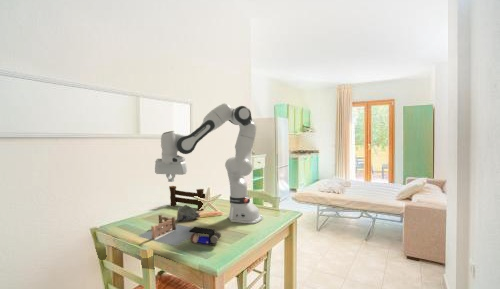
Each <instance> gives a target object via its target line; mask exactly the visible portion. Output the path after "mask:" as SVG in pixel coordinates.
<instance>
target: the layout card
mask: <svg viewBox="0 0 500 289" xmlns="http://www.w3.org/2000/svg"><path fill="white" fill-rule="evenodd" d="M162 228H163V227H162ZM192 228H194V227H192V226H188V225H182V224H176V230H172V229H170V230H171V231H168V230H167V231H166V233H162V235H159V234H158V235H157V237H156V238H154V239H152V230H148V231H145V232H144V233H141V234H139V235H138V237H139V238H143V239H147V240H151V241H154V242H155V241H156V242H159V243H163V244H167V245H169V246H170V245H171V246H174V247H177V246H178V245H180V244H182V243H183V242H186V241H187V240H189V239H190V238H191V235H192V234H193V232H189V231H190V230H191V229H192ZM158 230H159V228H157V231H158Z"/></svg>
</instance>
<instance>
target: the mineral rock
mask: <svg viewBox="0 0 500 289" xmlns="http://www.w3.org/2000/svg"><path fill="white" fill-rule="evenodd" d="M176 215H177V216H176V221H177V222H182V221H183V222H185V221H192V220H195V219H197V218H200V217H201V215H200V213H199V212H197V211H196V210H195V209H194V207H192V206H190V205H188V204H185V205H183V206H179V207H178V209H177V214H176Z"/></svg>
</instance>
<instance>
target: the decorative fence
mask: <svg viewBox="0 0 500 289" xmlns="http://www.w3.org/2000/svg"><path fill="white" fill-rule="evenodd" d="M168 189H169V193H170V196H169V197H170V198H169V200H170V207H176V206H177V203H180V204H185V205H194V206H197V211H200V210H199V209H200V208H201V207H202V205H203V203H202V202H201V201H198V199H194V198H195V197H194V196H198V197H200V198H203V199H206V193H204V191H205V190H204V188H197V189H196V192H192V191H191V192H190V191H185V190H184V191H183V190H177V186H176V185H169V187H168ZM178 196H180V197H178ZM185 197H186V198H185ZM187 197H189V198H187Z"/></svg>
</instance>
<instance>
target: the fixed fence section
mask: <svg viewBox="0 0 500 289" xmlns="http://www.w3.org/2000/svg"><path fill="white" fill-rule="evenodd" d="M167 220H172V223H170V225H172V230H176V217H175V216H174V217H168V216H167V217H166V216H163V214H159V215H158V224H160V223H163V222H166V221H167ZM167 226H168V225H166V227H167ZM162 227H163V226H162Z"/></svg>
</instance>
